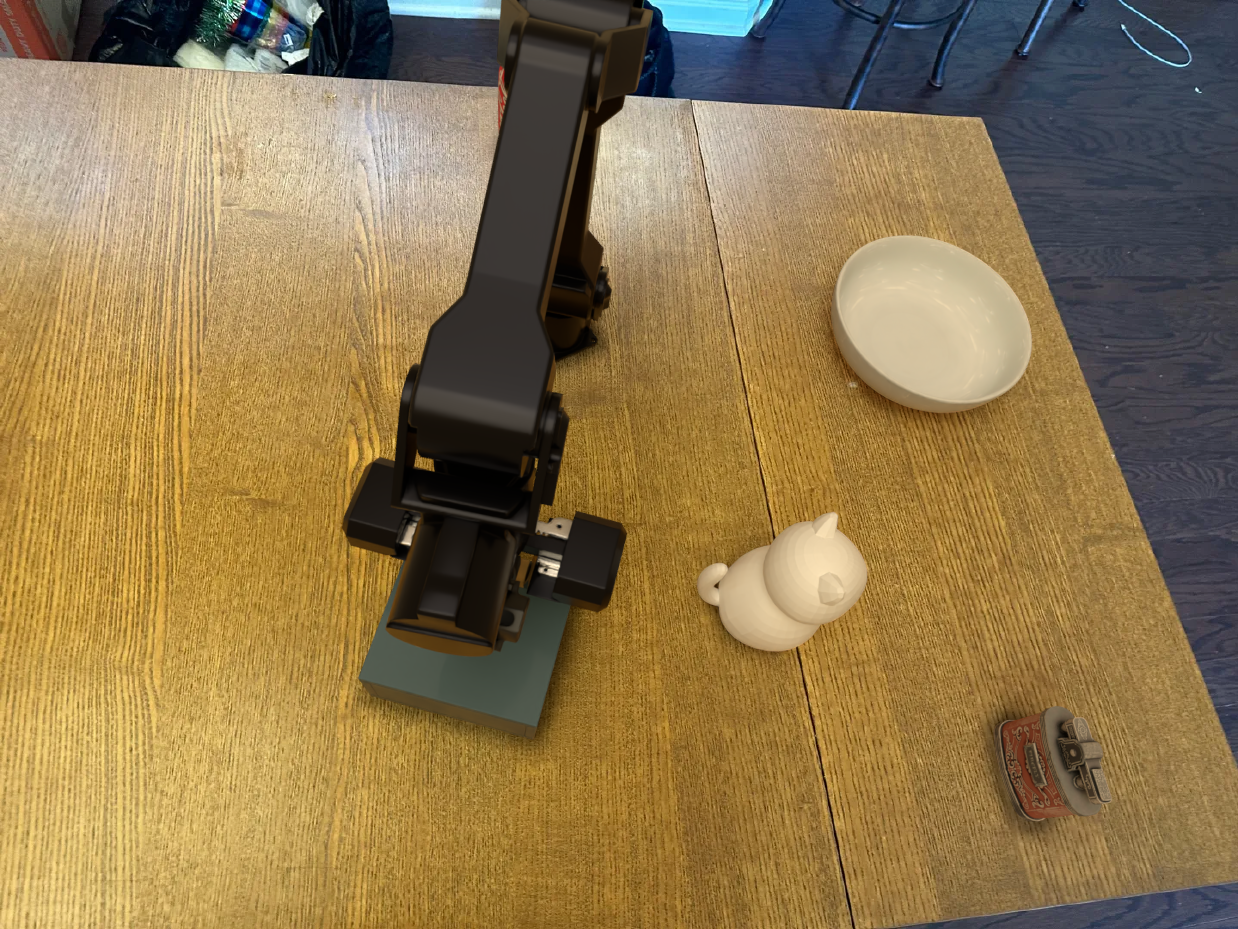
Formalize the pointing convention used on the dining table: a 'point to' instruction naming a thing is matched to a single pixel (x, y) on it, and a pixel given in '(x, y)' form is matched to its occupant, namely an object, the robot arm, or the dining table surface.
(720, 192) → the dining table surface
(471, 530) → the robot arm
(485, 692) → the chest lid
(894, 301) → the serving bowl
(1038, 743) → the lighter
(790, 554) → the cat figurine
